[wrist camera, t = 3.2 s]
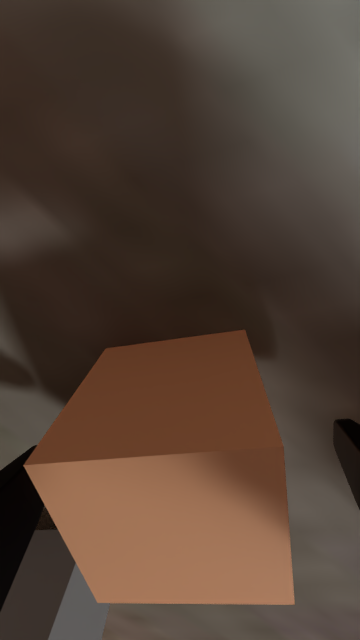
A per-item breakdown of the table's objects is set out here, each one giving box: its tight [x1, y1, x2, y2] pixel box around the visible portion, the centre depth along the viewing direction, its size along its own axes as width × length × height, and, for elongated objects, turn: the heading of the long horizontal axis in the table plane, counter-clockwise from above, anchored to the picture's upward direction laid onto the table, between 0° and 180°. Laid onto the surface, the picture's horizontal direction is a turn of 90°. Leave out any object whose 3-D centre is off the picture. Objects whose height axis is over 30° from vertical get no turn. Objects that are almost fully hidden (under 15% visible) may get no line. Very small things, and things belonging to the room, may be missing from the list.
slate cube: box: [0, 529, 110, 640], centre depth 13 cm, size 5×5×5 cm
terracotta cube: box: [23, 330, 295, 605], centre depth 8 cm, size 5×5×5 cm
